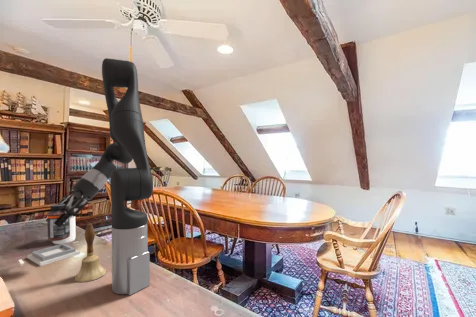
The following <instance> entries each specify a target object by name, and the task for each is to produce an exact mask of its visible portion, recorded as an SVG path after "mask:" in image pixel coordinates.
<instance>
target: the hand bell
mask: <svg viewBox="0 0 476 317" xmlns="http://www.w3.org/2000/svg"><path fill="white" fill-rule="evenodd" d="M95 232H96V231H95V229H94V226H93V223H91V222H90V223H87V224H86V228H85V230H84V238H85V243H86V256H85V257H83V258H82V260H81V263H80V264H81V266H80V269H79V271H78V273H77V274H76V275H75V276H74V281H75V282H78V283H86V282H93V281H96V280H98V279H101V278H102V277H104V276H105V274H106V273H107V270H106V269H105V268H104V267H103V266H102V264H101V262H100V257H99V256H98V255H96V254H94V242H95V236H96V235H95Z"/></svg>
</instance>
